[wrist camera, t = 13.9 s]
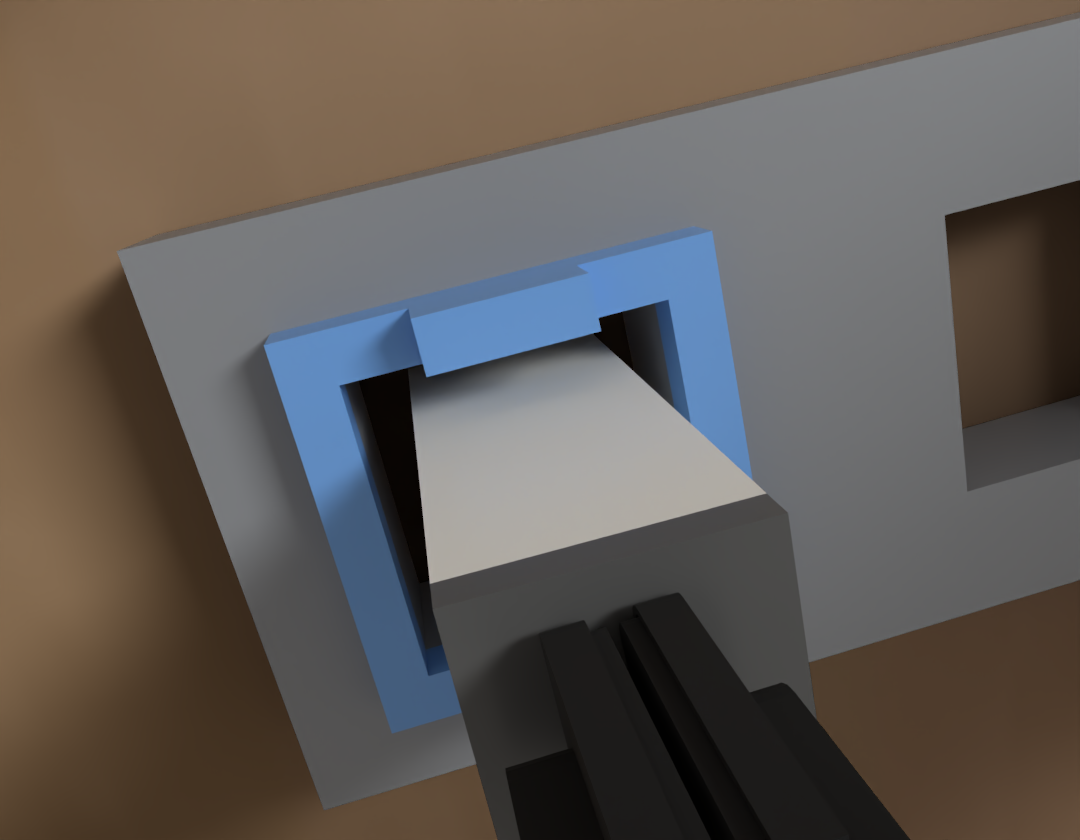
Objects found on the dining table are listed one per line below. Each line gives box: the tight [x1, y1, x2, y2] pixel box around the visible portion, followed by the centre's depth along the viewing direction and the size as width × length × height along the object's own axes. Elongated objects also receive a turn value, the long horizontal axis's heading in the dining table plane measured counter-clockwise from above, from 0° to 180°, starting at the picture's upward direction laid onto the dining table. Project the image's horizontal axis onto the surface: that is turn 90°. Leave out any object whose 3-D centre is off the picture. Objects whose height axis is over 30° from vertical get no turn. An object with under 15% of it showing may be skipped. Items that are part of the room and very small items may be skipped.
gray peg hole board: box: [117, 12, 1080, 810], centre depth 19 cm, size 24×12×5 cm, turn 103°
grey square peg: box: [408, 334, 817, 840], centre depth 16 cm, size 4×4×11 cm
